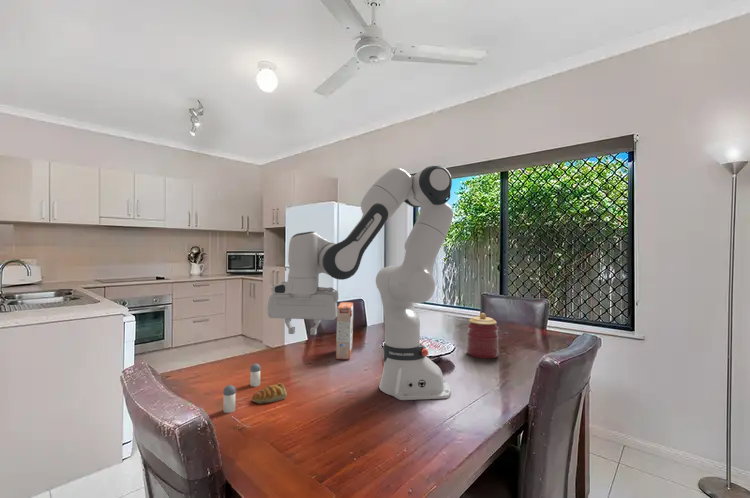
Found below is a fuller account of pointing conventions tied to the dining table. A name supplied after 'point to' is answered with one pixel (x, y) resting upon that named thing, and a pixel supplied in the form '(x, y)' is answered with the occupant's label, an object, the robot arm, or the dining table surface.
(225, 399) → the posts
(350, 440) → the dining table surface
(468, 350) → the canister
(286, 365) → the dining table surface
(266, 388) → the pastry
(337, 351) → the cracker box
